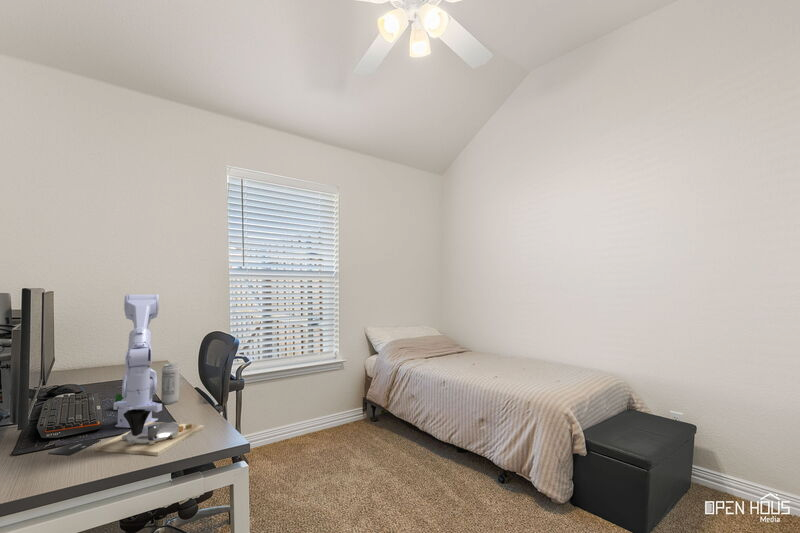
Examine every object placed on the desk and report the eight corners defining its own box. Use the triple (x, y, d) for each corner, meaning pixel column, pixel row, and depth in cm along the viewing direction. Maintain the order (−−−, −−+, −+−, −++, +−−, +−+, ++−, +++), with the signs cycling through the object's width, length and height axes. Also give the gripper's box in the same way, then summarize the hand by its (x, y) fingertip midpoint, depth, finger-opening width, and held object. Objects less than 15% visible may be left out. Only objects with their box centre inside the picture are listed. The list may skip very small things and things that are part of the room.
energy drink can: (182, 400, 158) (182, 363, 158) (172, 405, 152) (172, 366, 152) (168, 399, 159) (169, 362, 159) (157, 404, 153) (158, 365, 153)
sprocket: (118, 450, 110) (118, 433, 110) (125, 430, 124) (125, 416, 124) (183, 438, 118) (183, 423, 118) (183, 421, 132) (183, 408, 132)
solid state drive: (101, 442, 119) (101, 439, 119) (69, 457, 109) (69, 454, 109) (81, 440, 120) (81, 438, 120) (47, 455, 110) (47, 452, 110)
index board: (95, 450, 112) (95, 442, 112) (149, 424, 132) (149, 418, 132) (158, 455, 110) (158, 447, 110) (203, 428, 129) (203, 421, 129)
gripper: (104, 391, 114) (103, 438, 113) (149, 393, 112) (148, 441, 111) (125, 384, 121) (124, 428, 120) (167, 386, 119) (166, 431, 118)
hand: (137, 434), depth 116 cm, fingers closed
